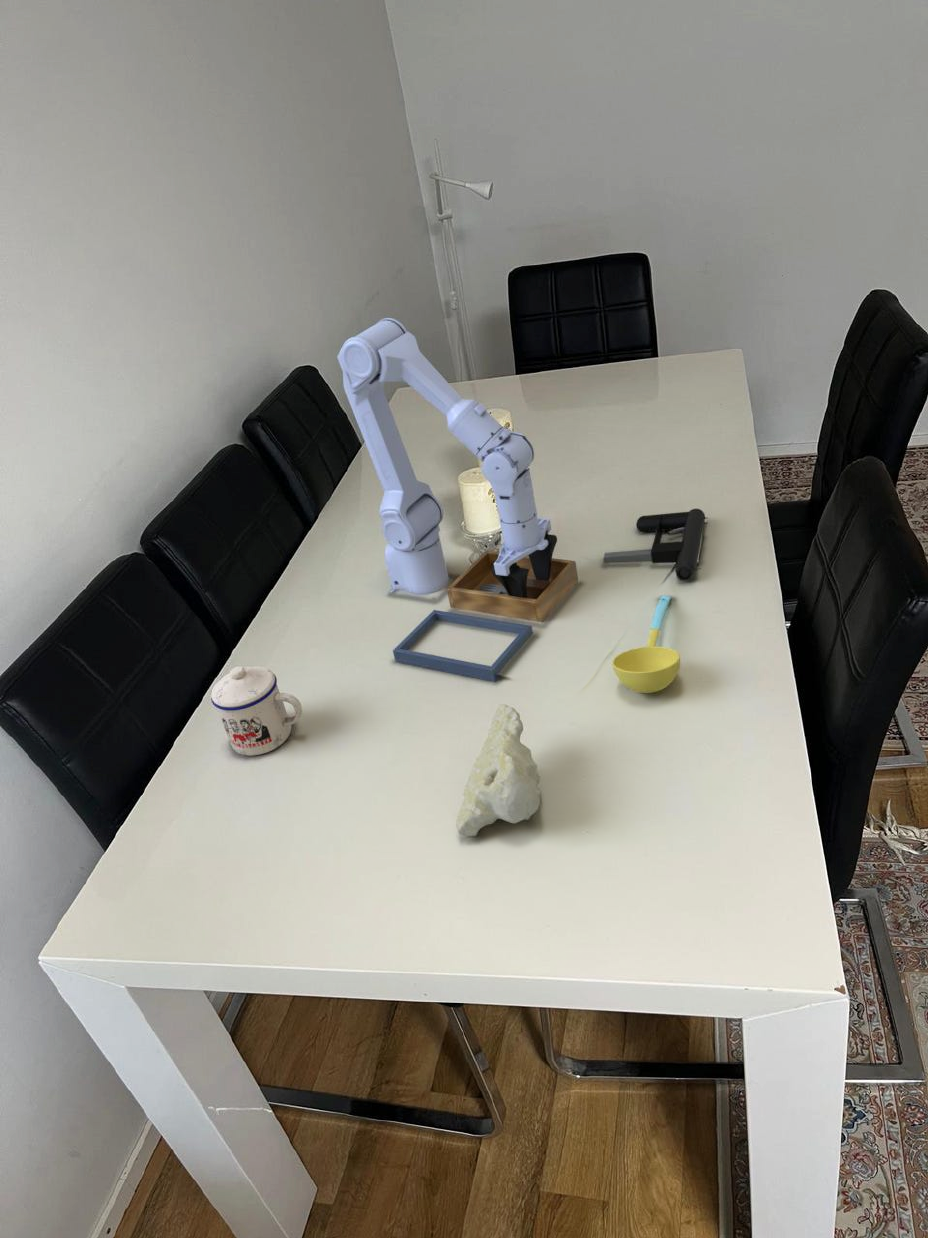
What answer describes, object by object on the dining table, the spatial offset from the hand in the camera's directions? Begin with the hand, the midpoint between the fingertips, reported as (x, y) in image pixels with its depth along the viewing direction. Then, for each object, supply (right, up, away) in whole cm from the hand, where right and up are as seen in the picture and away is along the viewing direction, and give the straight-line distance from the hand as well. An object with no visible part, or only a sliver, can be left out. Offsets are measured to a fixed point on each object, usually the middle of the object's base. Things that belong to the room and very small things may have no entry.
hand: (531, 592), depth 154 cm
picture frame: (-11, -9, -7) cm, 16 cm away
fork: (-3, 0, +2) cm, 3 cm away
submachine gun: (+21, +6, +6) cm, 23 cm away
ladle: (+16, -9, -16) cm, 25 cm away
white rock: (-6, -26, -35) cm, 44 cm away
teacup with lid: (-38, -21, -16) cm, 46 cm away
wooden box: (-3, -1, +3) cm, 4 cm away
